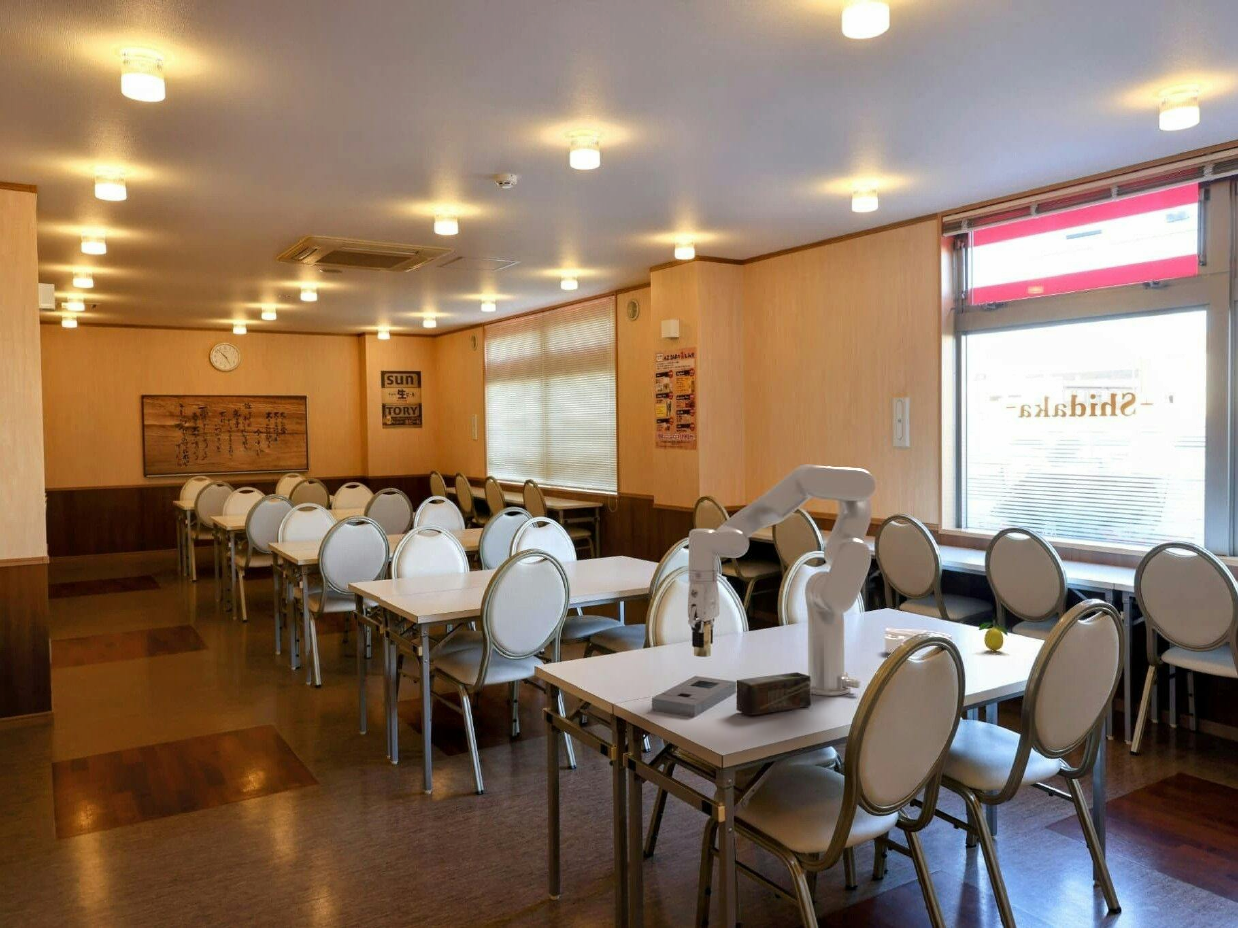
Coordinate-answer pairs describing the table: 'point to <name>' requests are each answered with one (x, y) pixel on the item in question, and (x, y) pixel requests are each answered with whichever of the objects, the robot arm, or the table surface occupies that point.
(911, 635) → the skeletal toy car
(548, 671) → the table surface
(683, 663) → the table surface
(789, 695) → the beverage carton
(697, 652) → the cylinder
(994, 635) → the lemon
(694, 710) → the block
